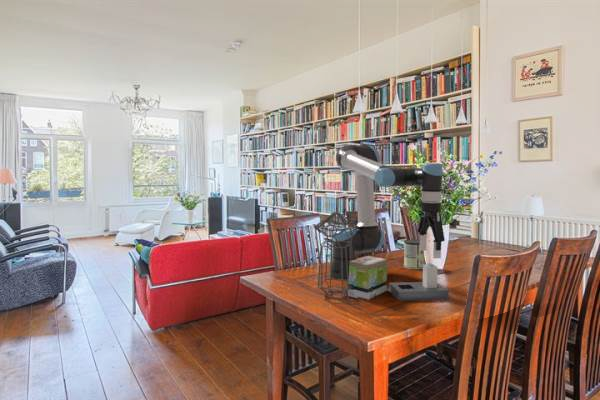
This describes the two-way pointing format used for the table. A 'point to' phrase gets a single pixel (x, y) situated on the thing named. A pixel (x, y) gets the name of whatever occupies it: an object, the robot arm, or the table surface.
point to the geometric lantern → (318, 227)
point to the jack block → (417, 291)
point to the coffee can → (413, 254)
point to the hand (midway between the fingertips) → (429, 254)
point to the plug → (429, 275)
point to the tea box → (367, 277)
